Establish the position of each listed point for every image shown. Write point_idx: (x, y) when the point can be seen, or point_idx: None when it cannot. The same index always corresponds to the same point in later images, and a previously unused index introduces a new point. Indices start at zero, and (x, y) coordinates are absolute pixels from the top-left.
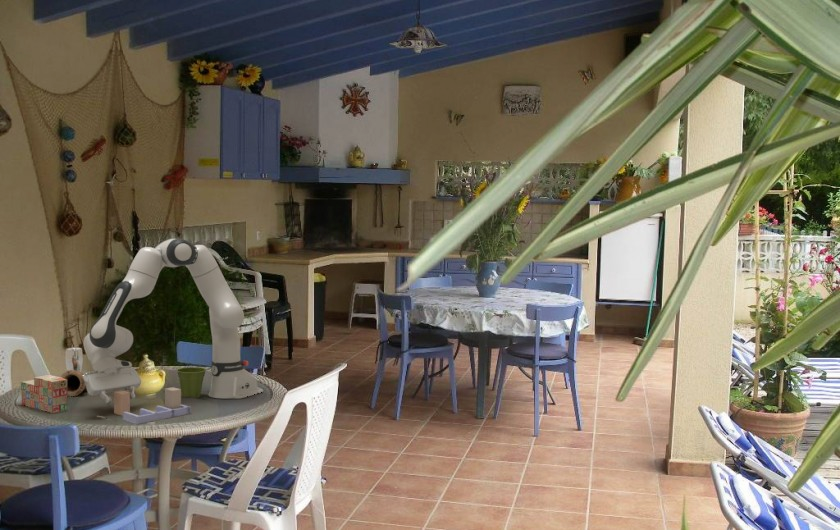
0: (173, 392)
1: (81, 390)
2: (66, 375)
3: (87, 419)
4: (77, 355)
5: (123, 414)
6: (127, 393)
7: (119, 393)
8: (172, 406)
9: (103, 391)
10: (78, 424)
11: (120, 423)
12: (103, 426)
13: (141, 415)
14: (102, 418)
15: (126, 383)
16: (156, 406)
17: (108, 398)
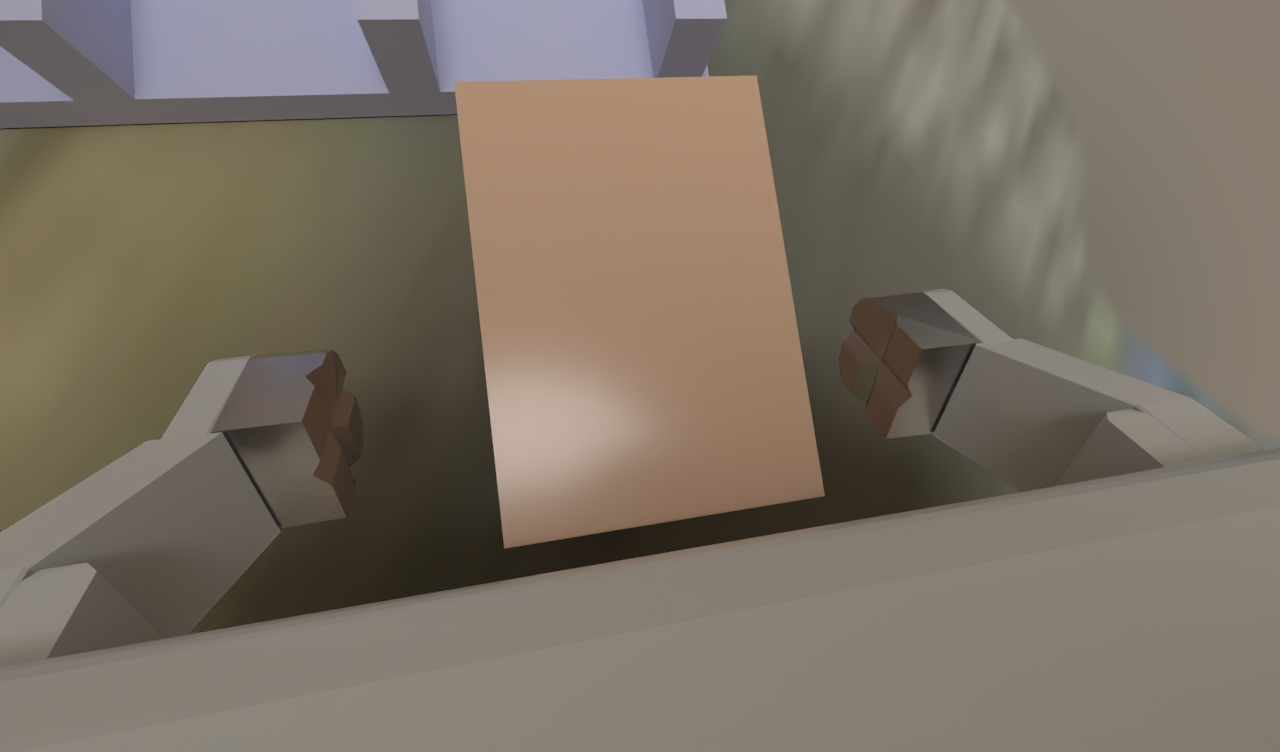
0: None
1: None
2: None
3: (983, 492)
4: None
5: (715, 30)
6: (540, 91)
7: (770, 162)
8: None
9: (1194, 450)
10: (1114, 327)
11: (742, 61)
12: (932, 71)
13: (434, 42)
14: (827, 427)
15: (144, 749)
16: (49, 12)
17: (953, 314)
